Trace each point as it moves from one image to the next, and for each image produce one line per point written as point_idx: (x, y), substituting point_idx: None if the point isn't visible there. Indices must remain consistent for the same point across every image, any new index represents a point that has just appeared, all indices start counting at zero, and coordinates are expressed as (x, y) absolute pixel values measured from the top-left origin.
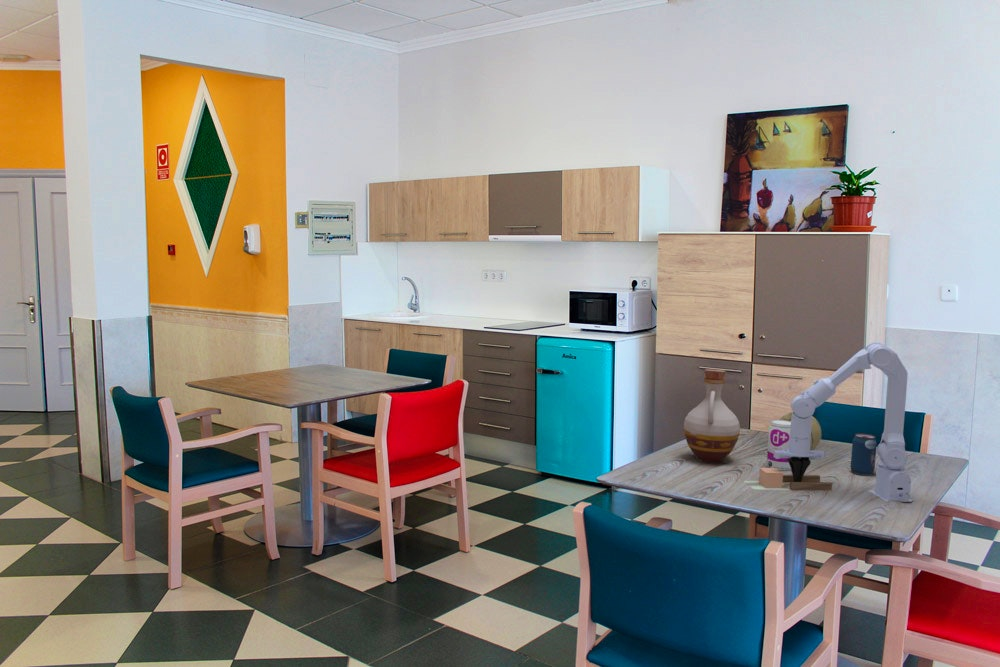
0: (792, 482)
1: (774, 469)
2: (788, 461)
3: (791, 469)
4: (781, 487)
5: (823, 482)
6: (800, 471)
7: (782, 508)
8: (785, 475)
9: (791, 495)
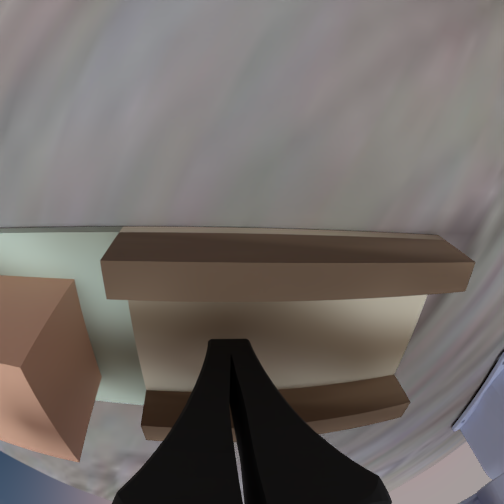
0: (154, 432)
1: (11, 398)
2: (135, 484)
3: (182, 415)
4: (97, 379)
5: (372, 412)
6: (241, 464)
7: (83, 484)
8: (156, 287)
9: (136, 430)
